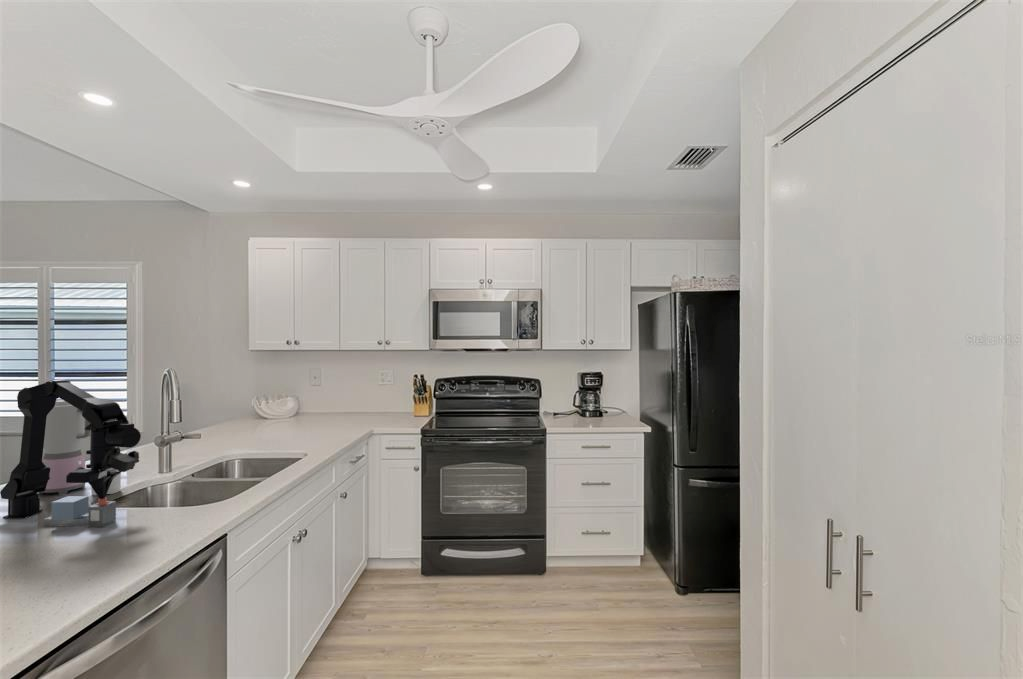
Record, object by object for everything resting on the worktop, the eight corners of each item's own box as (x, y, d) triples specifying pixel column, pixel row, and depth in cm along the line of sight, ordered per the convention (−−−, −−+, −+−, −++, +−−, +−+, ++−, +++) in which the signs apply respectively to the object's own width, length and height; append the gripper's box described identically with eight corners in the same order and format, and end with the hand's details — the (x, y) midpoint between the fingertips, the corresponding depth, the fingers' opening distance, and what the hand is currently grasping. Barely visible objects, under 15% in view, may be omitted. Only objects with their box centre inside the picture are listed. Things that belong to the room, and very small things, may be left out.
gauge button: (96, 516, 143) (96, 499, 143) (101, 514, 145) (101, 497, 145) (103, 516, 143) (103, 499, 143) (108, 514, 145) (108, 497, 145)
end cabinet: (87, 527, 141) (87, 507, 141) (101, 521, 147) (102, 501, 147) (102, 527, 142) (102, 507, 142) (115, 521, 147) (115, 501, 147)
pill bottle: (104, 497, 168) (104, 453, 168) (85, 495, 170) (85, 452, 170) (126, 490, 176) (127, 448, 176) (108, 488, 177) (108, 447, 177)
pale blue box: (51, 519, 141) (51, 502, 141) (67, 512, 146) (67, 496, 146) (73, 519, 141) (73, 502, 141) (88, 512, 147) (88, 496, 147)
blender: (27, 495, 168) (29, 402, 168) (60, 485, 180) (62, 398, 180) (73, 496, 168) (74, 403, 168) (103, 486, 180) (104, 399, 180)
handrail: (43, 525, 142) (43, 519, 142) (50, 522, 145) (51, 516, 145) (90, 525, 143) (90, 519, 143) (96, 522, 145) (96, 516, 145)
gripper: (106, 453, 135) (106, 509, 135) (153, 439, 154) (152, 488, 154) (64, 452, 135) (63, 509, 135) (116, 438, 153) (115, 488, 153)
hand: (102, 498), depth 144 cm, fingers closed, pressing on gauge button
